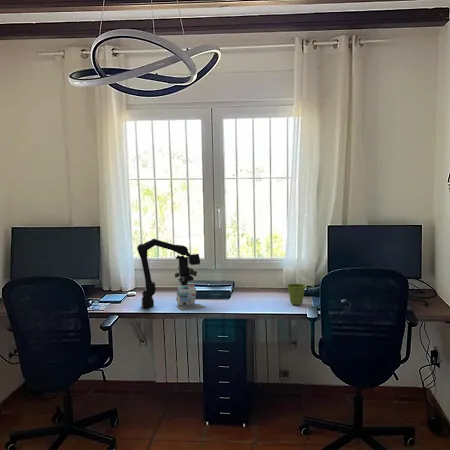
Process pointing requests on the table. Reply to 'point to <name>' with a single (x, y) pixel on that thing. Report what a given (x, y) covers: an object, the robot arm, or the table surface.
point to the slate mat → (190, 307)
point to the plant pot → (296, 293)
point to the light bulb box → (186, 294)
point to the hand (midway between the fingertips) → (184, 290)
